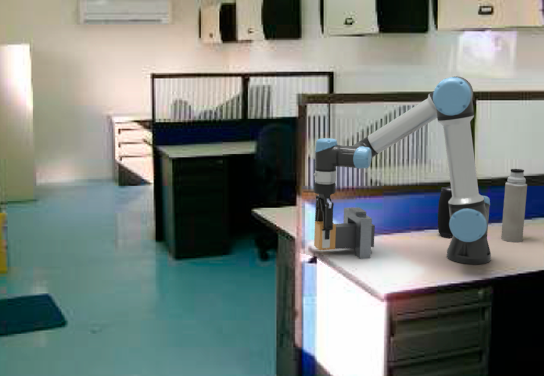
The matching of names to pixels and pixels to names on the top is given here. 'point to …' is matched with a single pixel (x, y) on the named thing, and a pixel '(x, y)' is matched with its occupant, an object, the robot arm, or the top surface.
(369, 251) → the housing
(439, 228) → the portable speaker
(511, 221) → the thermos bottle
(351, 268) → the top surface
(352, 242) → the grey and orange block
